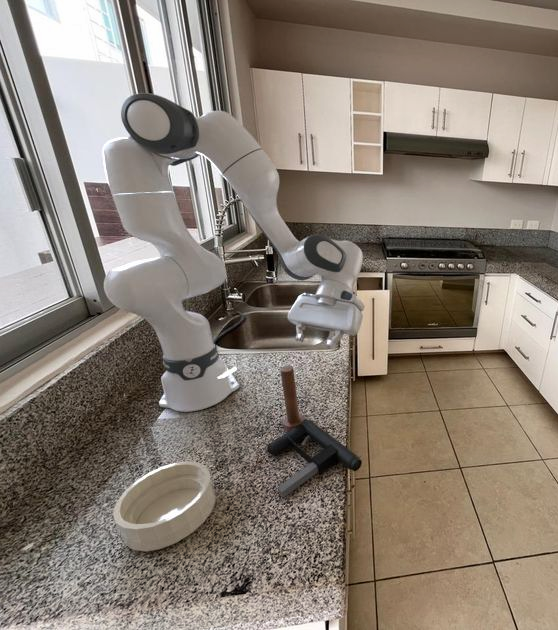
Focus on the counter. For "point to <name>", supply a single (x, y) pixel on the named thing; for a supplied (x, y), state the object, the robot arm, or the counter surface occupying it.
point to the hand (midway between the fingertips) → (313, 344)
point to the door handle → (316, 463)
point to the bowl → (165, 506)
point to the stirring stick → (290, 399)
